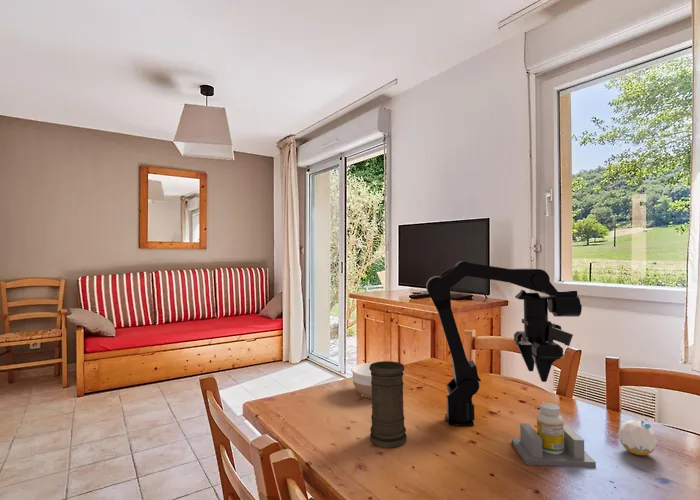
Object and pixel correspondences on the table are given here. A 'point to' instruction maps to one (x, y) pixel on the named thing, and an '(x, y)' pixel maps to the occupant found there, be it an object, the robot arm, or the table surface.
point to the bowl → (363, 379)
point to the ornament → (637, 437)
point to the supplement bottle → (551, 428)
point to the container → (387, 404)
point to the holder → (534, 455)
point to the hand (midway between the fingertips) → (537, 376)
